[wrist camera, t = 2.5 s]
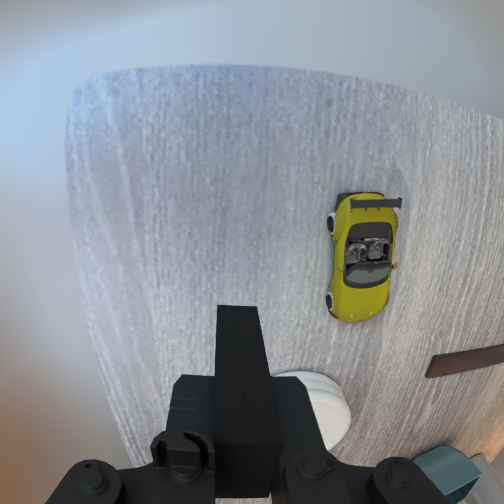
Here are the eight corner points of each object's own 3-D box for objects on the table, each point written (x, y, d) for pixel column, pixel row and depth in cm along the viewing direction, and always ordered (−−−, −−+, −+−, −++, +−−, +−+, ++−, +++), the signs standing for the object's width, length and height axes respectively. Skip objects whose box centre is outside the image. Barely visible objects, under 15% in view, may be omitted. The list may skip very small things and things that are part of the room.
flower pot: (456, 430, 33) (484, 473, 24) (443, 461, 35) (465, 499, 27) (403, 454, 33) (427, 503, 24) (395, 482, 35) (414, 525, 27)
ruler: (433, 355, 27) (435, 358, 26) (540, 335, 29) (543, 336, 28) (424, 375, 28) (426, 378, 27) (533, 351, 30) (535, 352, 29)
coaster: (321, 440, 29) (328, 464, 26) (228, 436, 28) (229, 463, 25) (357, 371, 26) (370, 396, 23) (248, 362, 25) (251, 390, 22)
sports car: (322, 320, 24) (333, 341, 22) (326, 190, 21) (340, 197, 18) (380, 313, 25) (396, 331, 22) (391, 189, 21) (412, 196, 19)
